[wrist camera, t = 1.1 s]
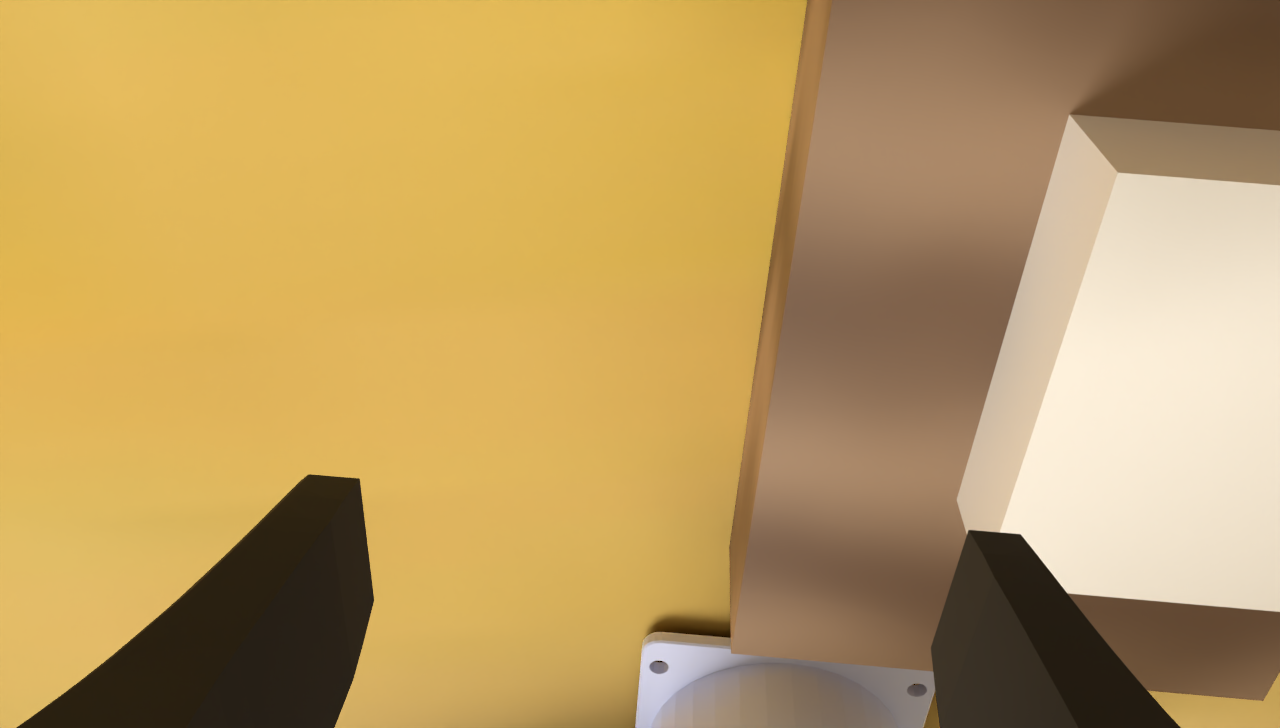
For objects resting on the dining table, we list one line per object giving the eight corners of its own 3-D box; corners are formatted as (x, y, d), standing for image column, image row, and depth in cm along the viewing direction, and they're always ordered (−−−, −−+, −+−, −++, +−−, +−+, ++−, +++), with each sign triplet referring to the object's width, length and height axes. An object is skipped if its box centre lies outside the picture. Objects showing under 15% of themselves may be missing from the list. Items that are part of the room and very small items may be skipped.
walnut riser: (1202, 588, 26) (1263, 700, 24) (729, 547, 27) (731, 653, 24) (1598, -224, 17) (1787, -206, 14) (847, -278, 17) (873, -271, 14)
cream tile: (1257, 525, 21) (1315, 614, 19) (956, 500, 21) (982, 586, 19) (1450, 144, 16) (1552, 206, 14) (1069, 114, 17) (1118, 172, 15)
